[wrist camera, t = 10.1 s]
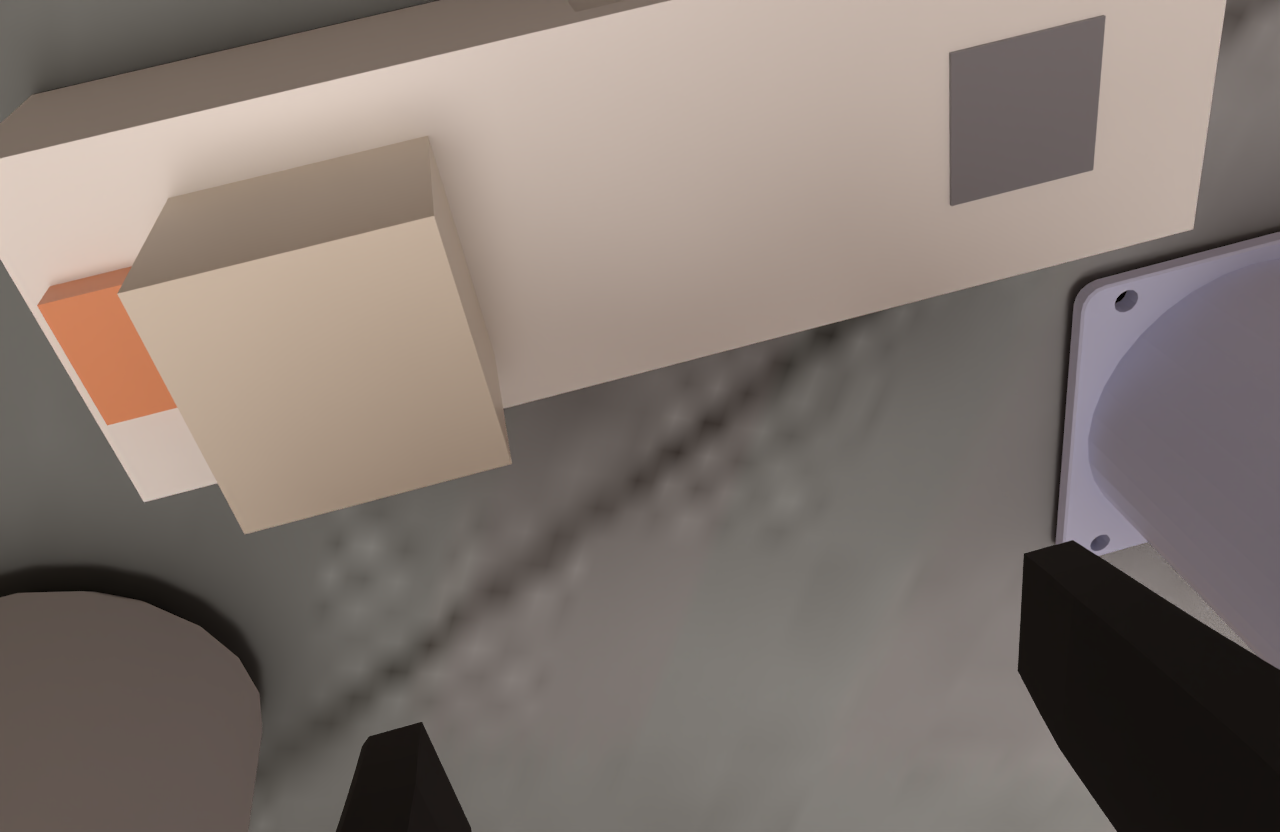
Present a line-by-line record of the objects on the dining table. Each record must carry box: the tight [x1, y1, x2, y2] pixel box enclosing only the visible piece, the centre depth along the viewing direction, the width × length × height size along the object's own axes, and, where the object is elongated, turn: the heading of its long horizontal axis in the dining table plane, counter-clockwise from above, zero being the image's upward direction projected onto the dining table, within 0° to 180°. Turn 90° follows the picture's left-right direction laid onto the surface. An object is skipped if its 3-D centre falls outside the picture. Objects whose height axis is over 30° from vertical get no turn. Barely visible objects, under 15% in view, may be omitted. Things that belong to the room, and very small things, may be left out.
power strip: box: [0, 0, 1226, 502], centre depth 16 cm, size 18×6×4 cm, turn 100°
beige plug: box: [117, 136, 512, 534], centre depth 14 cm, size 4×4×3 cm
